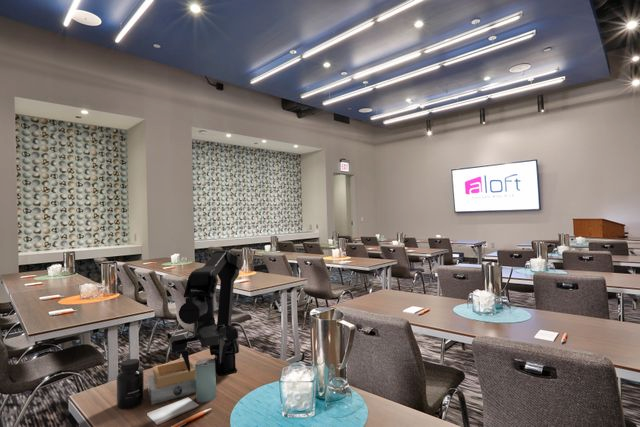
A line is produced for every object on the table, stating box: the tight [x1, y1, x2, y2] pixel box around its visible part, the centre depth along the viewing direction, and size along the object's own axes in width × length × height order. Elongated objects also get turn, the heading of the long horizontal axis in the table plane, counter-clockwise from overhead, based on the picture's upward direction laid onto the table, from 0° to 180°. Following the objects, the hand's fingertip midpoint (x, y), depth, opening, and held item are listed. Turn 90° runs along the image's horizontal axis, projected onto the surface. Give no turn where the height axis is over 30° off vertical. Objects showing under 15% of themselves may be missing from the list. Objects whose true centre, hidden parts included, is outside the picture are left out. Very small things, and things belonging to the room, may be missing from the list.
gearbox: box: [146, 359, 196, 405], centre depth 109 cm, size 14×13×6 cm
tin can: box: [194, 357, 217, 403], centre depth 103 cm, size 6×6×10 cm
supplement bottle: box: [116, 358, 145, 410], centre depth 101 cm, size 7×7×12 cm
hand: (205, 367), depth 103 cm, fingers open, 9 cm apart
